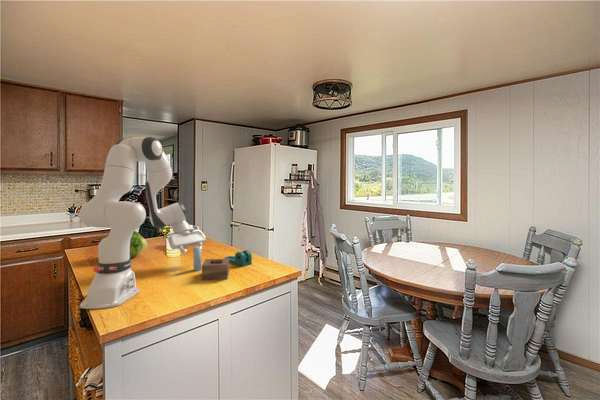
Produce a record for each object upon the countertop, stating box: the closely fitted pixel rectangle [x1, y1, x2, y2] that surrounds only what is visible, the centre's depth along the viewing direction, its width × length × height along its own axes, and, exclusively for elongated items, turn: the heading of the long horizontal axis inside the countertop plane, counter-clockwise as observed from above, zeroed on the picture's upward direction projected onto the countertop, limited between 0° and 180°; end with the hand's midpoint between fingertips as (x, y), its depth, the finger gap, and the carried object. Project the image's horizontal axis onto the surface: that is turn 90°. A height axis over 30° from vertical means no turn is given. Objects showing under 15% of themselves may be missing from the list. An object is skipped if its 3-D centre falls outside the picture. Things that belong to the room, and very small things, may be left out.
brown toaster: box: [201, 258, 230, 281], centre depth 150 cm, size 12×12×7 cm
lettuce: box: [106, 230, 148, 259], centre depth 181 cm, size 19×23×18 cm
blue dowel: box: [192, 246, 202, 272], centre depth 159 cm, size 4×4×12 cm
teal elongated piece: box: [224, 249, 253, 267], centre depth 174 cm, size 18×7×8 cm, turn 52°
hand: (193, 251), depth 160 cm, fingers open, 8 cm apart
